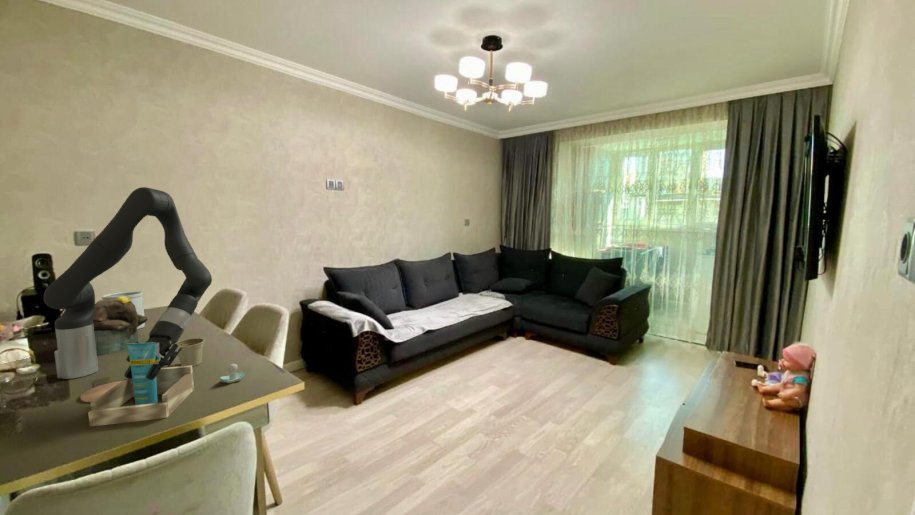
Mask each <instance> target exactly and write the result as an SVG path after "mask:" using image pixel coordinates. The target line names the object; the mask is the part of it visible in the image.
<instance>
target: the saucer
mask: <svg viewBox="0 0 915 515" xmlns="http://www.w3.org/2000/svg"><path fill="white" fill-rule="evenodd" d="M121 381H122V380H118V381H111V382H108V383H104V384H100V385H98V386H94V387H92V388H89V389H88V390H86V391H84V392H82V393H81V395H80V401H81V402H83V403H91V402H92V401H94V400H95V399H97V398H98V397H100V396H101V395H103V394H104V393H105V392H107V391H108V390H110V389H111V388H113V387H114V386H116V385H117V384H119V383H120V382H121Z"/></svg>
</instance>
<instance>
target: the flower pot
mask: <svg viewBox="0 0 915 515" xmlns="http://www.w3.org/2000/svg"><path fill="white" fill-rule="evenodd" d="M205 341H206V340H205V338H202V337H193V338H187V339H183V340H178V341H177V343H175V344H177V345H179V346H180V347H182V349H181V351H180V352H179V354H178V355H177V357H178V359H179V363H180V366H191V365H192V366H193V367H195V366H199V365H200V364H201V363H202V360H203V346H204V344H205Z"/></svg>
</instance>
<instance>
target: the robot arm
mask: <svg viewBox="0 0 915 515" xmlns="http://www.w3.org/2000/svg"><path fill="white" fill-rule="evenodd" d="M174 201H175V200H174V199H173V198H172V196H171V195H170V194H169V193H168V192H166V191H163V190H160V189H155V188H152V187H143V186H142V187H138V188H135V189H134V190H133V191H132V192H130V194H129V195H128V197H127V198H126V199H125V201H124V202H123V203H122V205H121V207H120V208H119V209H118V211H117V212H116V214H115V215H114V216H113V217H112V219H111V220H110V221H109V222H108V223H107V224H106V226H105V227H104V228H103V229H102V230H101V231H100V233H98V235H97V236H96V237H95V238H93V239H92V241H91V242H90V243H89V244H88V246H87V247H86V249H84V250H83V252H82V253H81V254H80V255H79V256H78V257H77V258H76V259H75V260H74V262H72V264H71V265H70V266H69V267H68V268H67V269H66V270H65V271H64V272H63V273H62V274H60V276H58V277H57V278H56V279H55V280H54V281H52V282H51V283H50V284H49V285H48V286H47V288H45V290H44V293H43V302H44V303H45V305H46V307H48V308H51V309H54V310H64V312H63V313H62V314H61V316H59V317H57V318H56V319H55V321H54V329H55V338H56V344H57V345H56V346H57V349H56V350H55V351H54V360H55V361H54V362H55V367H56V369H55V370H56V377H57V379H63V380H64V379H65V380H69V379H76V378H77V379H78V378H82V377H86V376H89V375H92V374H94V373H97V372H98V371H99V363H98V356H97V351H96V342H95V333H94V324H93V318H94V316H95V303H96V295H95V289H94V286H93V285H92V283H91V282H92V281H93V280H94V279H96V278H97V277H98V276H100V275H103V274H104V273H105V272H107V271H108V270H110V269H111V268H113V267H114V266H115V265H117V264H118V263H119V262H120V261H121V260H122V259H123V258H124V257H125V255H127V253H128V252H129V251H130V250H131V248H132V245H133V240H134V239H133V238H134V237H133V236H134V230H135V228H136V227H137V226H138V224H139V223H141V222H142V220H143V219H144V218H145V217H147V216H150V217H155V218H156V219H157V220H158V221H159V223H160V224H161V226H162V228H163V232H164V247H165V251H166V254H167V255H168V257H169V259H170V261H171V262H172V265H173V266H174V267H175V268H176V270H177V271H182V273H183V274H184V276H185V280H184V281H183V282H182V284H181V286H180V288H179V289H178V291H177V293H176V295H175V296H174V297H173V298H172V299H171V301H170V303H169V304H168V305H167V307H166V308H165V310H163V312H162V313H161V315H160V316H159V318H158V319H157V321H156V322H155V324H154V326H153V327H152V328H151V330H150V332H149V334H148V340H146V341H145V342H144V343H148V342H155V344H156V347H155V358H156V359H155V365H152V367H151V369H150V370H149V372H148V374H147V375H146V378H147V379H149V380H153V379H154V378H155V377H156V376H157V374H158V373H159V371H160V369H161V368H165V366H168V367H170V366H171V365H172V364H173V362H174V361H175V359H176V357H178V354H179V352H180V351H181V349H182V347H180V346H179V345H177V344H175V343H177V342H179V341H180V340H179V339H180V338H181V336H182V335H183V333H184V331H185V330H186V328H187V326H188V324H189V322H190V319H191V317H192V315H193V314H194V313H195V311H196V308H197V307H198V303H199V301H200V300H201V298H202V297H203V295H204V294H205V292H206V291H207V289H208V288H209V287H210V286H211V285H212V281H213V278H212V275H211V272H210V270H209V269H208V268H207V267H206V265H205V264H204V263H203V262H202V261H201V260H200V259H199V258H198V255H197V254H196V253H195V251H194V249H193V247H192V245H191V243H190V241H189V239H188V237H187V235H186V232H185V230H184V227H183V224H182V222H181V218H180V216H179V212H178V209H177V206H176V204H175V202H174ZM136 343H140V342H139V341H138V342H136ZM125 360H126V361H127V362H128V363H130V358H129V354H128V355H127V358H125ZM125 377H126V378H128V379H132V372H131V365H130V364H129V366H128V367H127V369H126V370H125V372H124V378H125Z"/></svg>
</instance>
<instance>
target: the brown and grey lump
mask: <svg viewBox="0 0 915 515" xmlns="http://www.w3.org/2000/svg"><path fill="white" fill-rule="evenodd" d="M147 321H148V317H147V316H145V315H144V316H142V315H139V314H137V311H136V308H135V305H134V304H133V303H132V302H131V299H130V298H128V297H125V296H122V297H118V298H115V299H107V300H103V299H101V300H98V301H97V302H95V316H94V318H93V324H94V333H95V342H96V351H97V357H98V356H99V355H100V356H106V355H105V354H107V355H111V354H116V353H120V352H124V351H128V348H127V344H126V343H136V342H139V329H137V327H138V326H140V325H142V324H143V323H145V324H146V322H147ZM100 356H99V357H100Z"/></svg>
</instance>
